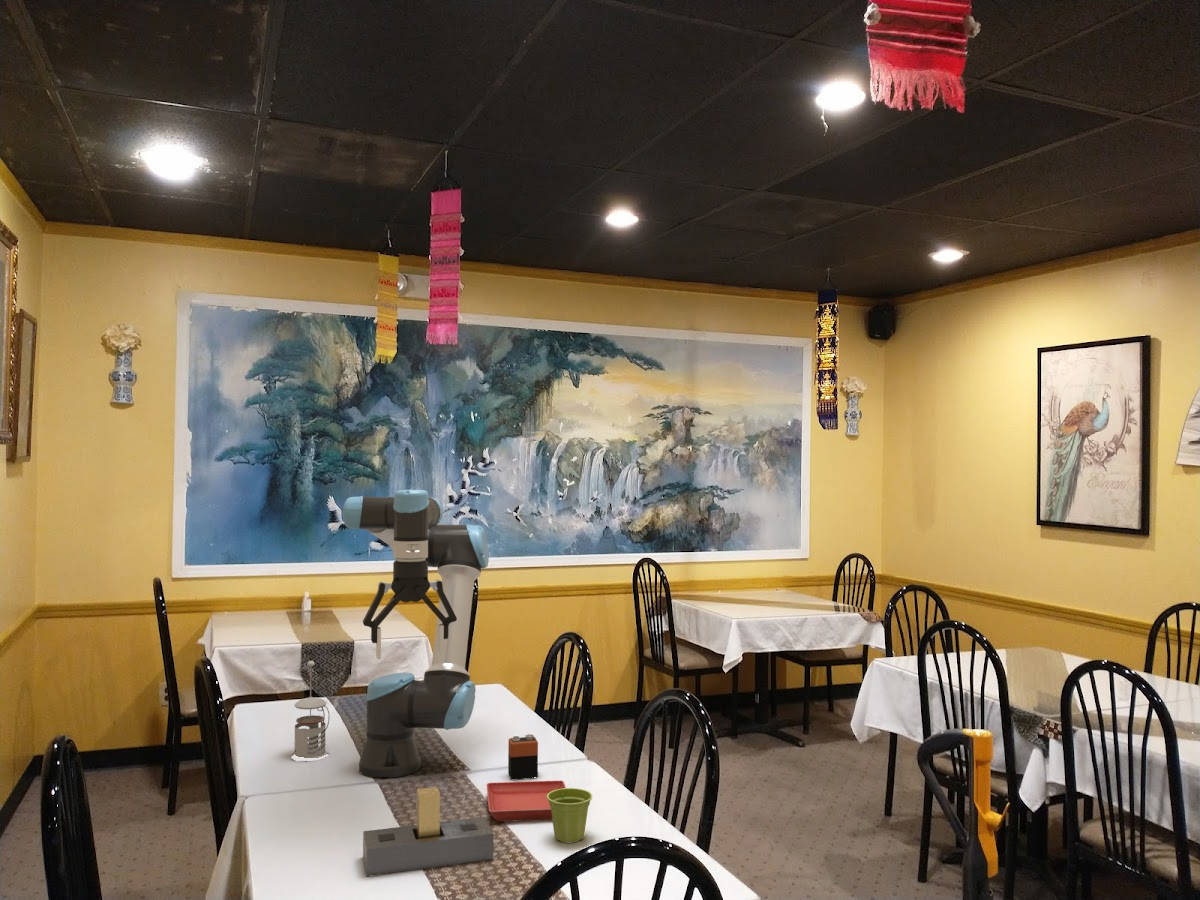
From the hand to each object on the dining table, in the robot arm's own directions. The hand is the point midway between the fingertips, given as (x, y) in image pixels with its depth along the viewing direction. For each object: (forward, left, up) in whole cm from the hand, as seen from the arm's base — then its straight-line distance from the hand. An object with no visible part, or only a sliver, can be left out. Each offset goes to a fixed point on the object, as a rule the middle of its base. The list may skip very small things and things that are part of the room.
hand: (410, 656), depth 203 cm
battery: (+7, +33, -35) cm, 49 cm away
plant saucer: (+20, +17, -35) cm, 44 cm away
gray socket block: (+19, -15, -35) cm, 42 cm away
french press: (-50, +17, -35) cm, 63 cm away
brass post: (+19, -15, -34) cm, 41 cm away
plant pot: (+37, +8, -35) cm, 51 cm away
